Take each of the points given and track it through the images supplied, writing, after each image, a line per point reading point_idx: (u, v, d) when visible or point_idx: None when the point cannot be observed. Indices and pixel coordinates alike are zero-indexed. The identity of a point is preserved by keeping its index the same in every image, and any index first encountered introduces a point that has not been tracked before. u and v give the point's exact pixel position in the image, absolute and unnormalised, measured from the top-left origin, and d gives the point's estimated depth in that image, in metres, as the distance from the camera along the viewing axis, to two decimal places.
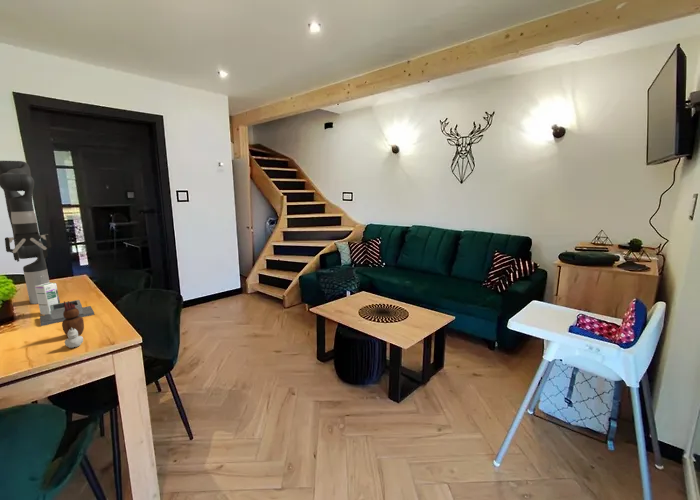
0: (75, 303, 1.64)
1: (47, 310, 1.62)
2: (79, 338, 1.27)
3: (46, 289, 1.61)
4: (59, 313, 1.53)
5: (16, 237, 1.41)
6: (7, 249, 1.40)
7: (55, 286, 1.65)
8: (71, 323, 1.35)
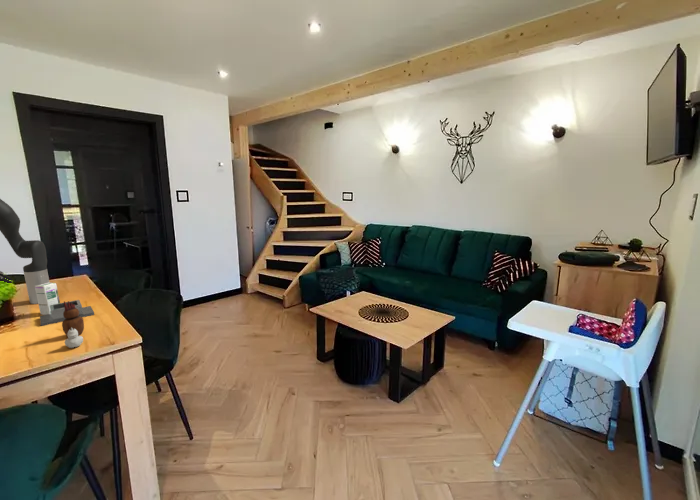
0: (75, 303, 1.64)
1: (47, 310, 1.62)
2: (79, 338, 1.27)
3: (46, 289, 1.61)
4: (59, 313, 1.53)
5: None
6: None
7: (55, 286, 1.65)
8: (71, 323, 1.35)
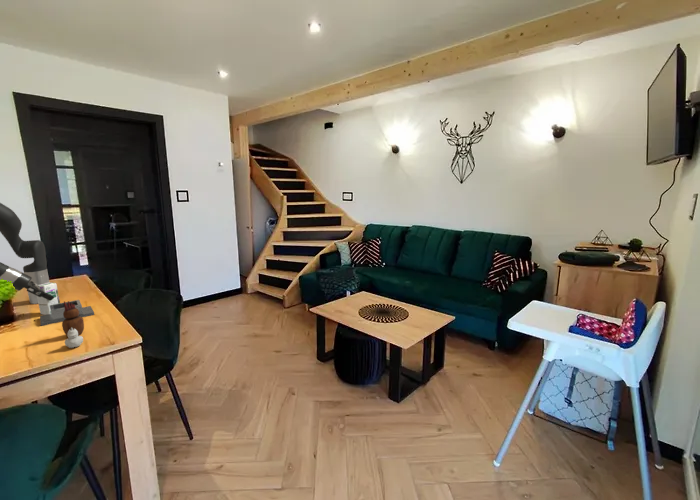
0: (75, 303, 1.64)
1: (47, 310, 1.62)
2: (79, 338, 1.27)
3: (46, 289, 1.61)
4: (59, 313, 1.53)
5: None
6: None
7: (55, 286, 1.65)
8: (71, 323, 1.35)
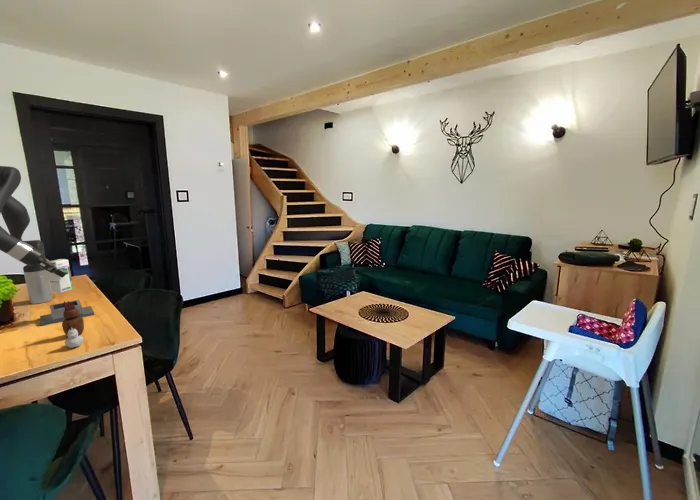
0: (75, 303, 1.64)
1: (59, 287, 1.54)
2: (79, 338, 1.27)
3: (57, 265, 1.52)
4: (59, 313, 1.53)
5: None
6: None
7: (67, 263, 1.57)
8: (71, 323, 1.35)
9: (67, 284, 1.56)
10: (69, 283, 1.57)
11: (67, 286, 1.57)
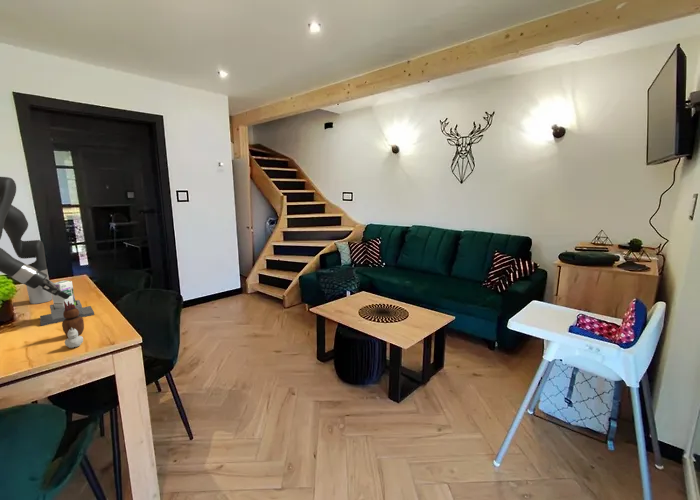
0: None
1: None
2: (79, 338, 1.27)
3: (61, 287, 1.54)
4: (59, 313, 1.53)
5: None
6: None
7: (71, 284, 1.58)
8: (71, 323, 1.35)
9: None
10: None
11: None
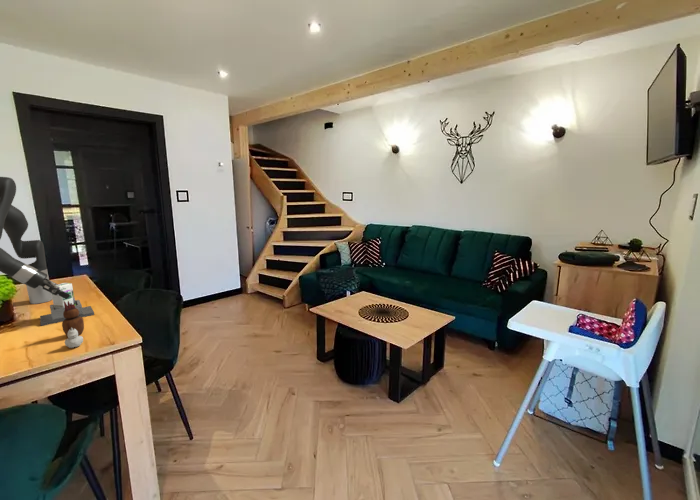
0: None
1: None
2: (79, 338, 1.27)
3: (61, 289, 1.55)
4: (59, 313, 1.53)
5: None
6: None
7: (71, 286, 1.59)
8: (71, 323, 1.35)
9: None
10: None
11: None
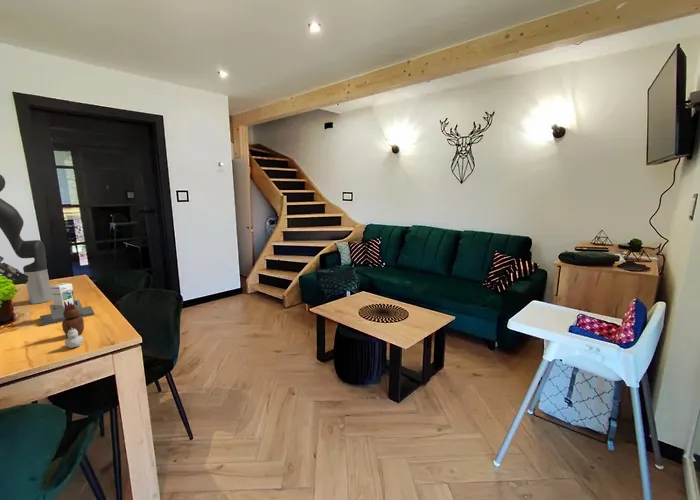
0: None
1: None
2: (79, 338, 1.27)
3: (61, 289, 1.55)
4: (59, 313, 1.53)
5: None
6: None
7: (71, 286, 1.59)
8: (71, 323, 1.35)
9: None
10: None
11: None
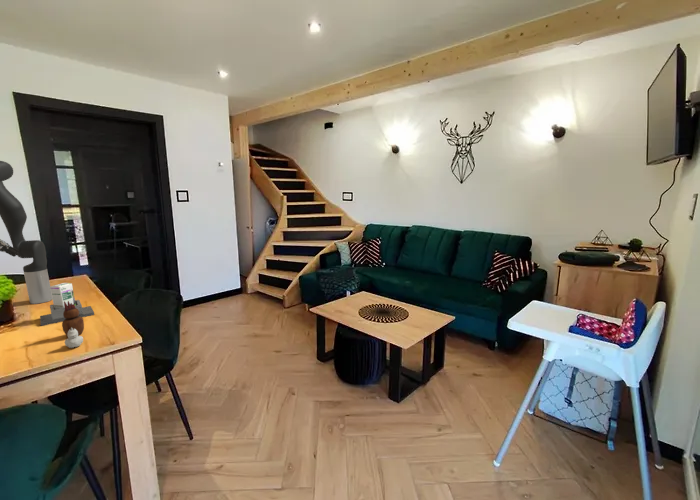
0: None
1: None
2: (79, 338, 1.27)
3: (61, 289, 1.55)
4: (59, 313, 1.53)
5: None
6: None
7: (71, 286, 1.59)
8: (71, 323, 1.35)
9: None
10: None
11: None
